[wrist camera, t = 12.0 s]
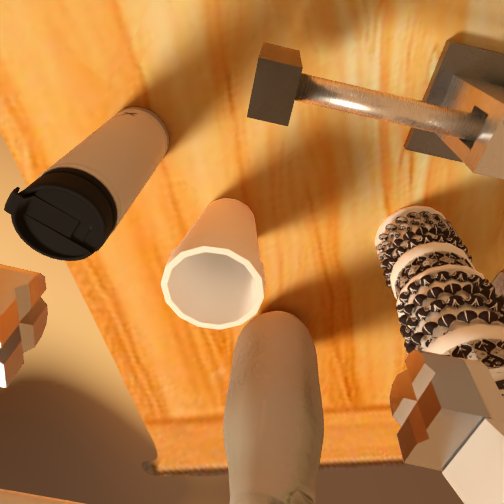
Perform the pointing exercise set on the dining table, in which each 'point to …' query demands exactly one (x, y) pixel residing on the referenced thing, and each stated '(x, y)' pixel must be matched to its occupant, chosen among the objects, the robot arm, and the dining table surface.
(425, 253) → the decorative candle
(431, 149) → the bearing stand
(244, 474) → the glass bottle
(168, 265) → the foam cup
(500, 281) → the coffee box
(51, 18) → the dining table surface
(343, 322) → the dining table surface
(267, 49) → the shaft
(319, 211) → the dining table surface
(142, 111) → the travel mug
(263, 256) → the dining table surface
